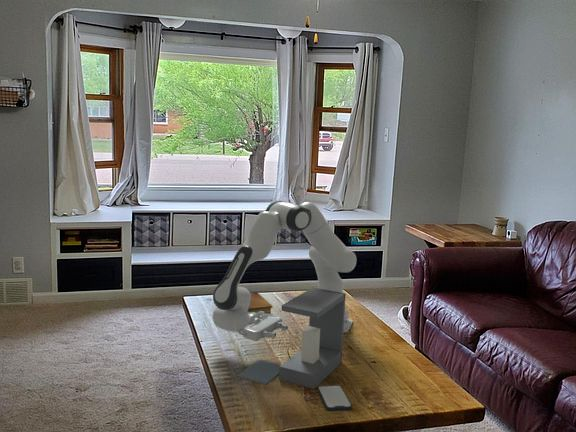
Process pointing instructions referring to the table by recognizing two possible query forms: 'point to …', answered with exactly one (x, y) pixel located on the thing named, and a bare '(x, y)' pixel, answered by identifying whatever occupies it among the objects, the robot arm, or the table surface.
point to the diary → (259, 304)
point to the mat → (260, 371)
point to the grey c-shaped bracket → (330, 319)
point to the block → (310, 344)
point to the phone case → (334, 398)
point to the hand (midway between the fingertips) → (281, 331)
